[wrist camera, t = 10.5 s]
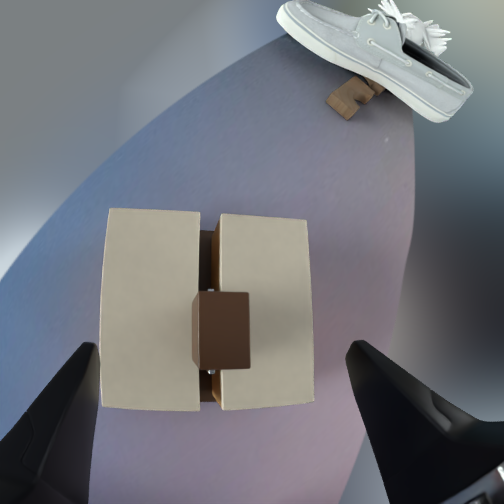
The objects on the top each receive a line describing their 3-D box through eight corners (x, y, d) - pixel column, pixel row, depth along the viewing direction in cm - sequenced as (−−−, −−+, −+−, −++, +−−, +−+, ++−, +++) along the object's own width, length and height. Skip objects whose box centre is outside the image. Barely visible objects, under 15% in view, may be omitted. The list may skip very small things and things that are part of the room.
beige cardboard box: (285, 395, 21) (316, 409, 16) (117, 397, 18) (100, 415, 13) (280, 237, 24) (307, 212, 19) (121, 228, 21) (109, 199, 16)
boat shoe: (262, 31, 28) (287, -28, 20) (289, 9, 31) (312, -39, 23) (442, 148, 30) (490, 112, 22) (442, 108, 34) (480, 76, 26)
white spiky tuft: (434, 93, 33) (467, 56, 25) (359, 54, 32) (386, 7, 24) (422, 53, 36) (447, 20, 29) (357, 20, 35) (378, -18, 27)
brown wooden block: (217, 364, 20) (251, 386, 11) (187, 364, 19) (198, 388, 11) (216, 300, 21) (249, 274, 12) (187, 299, 20) (198, 272, 12)
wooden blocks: (365, 108, 27) (307, 61, 27) (350, 124, 29) (297, 80, 29) (428, 48, 37) (395, 21, 37) (419, 58, 40) (387, 31, 40)
